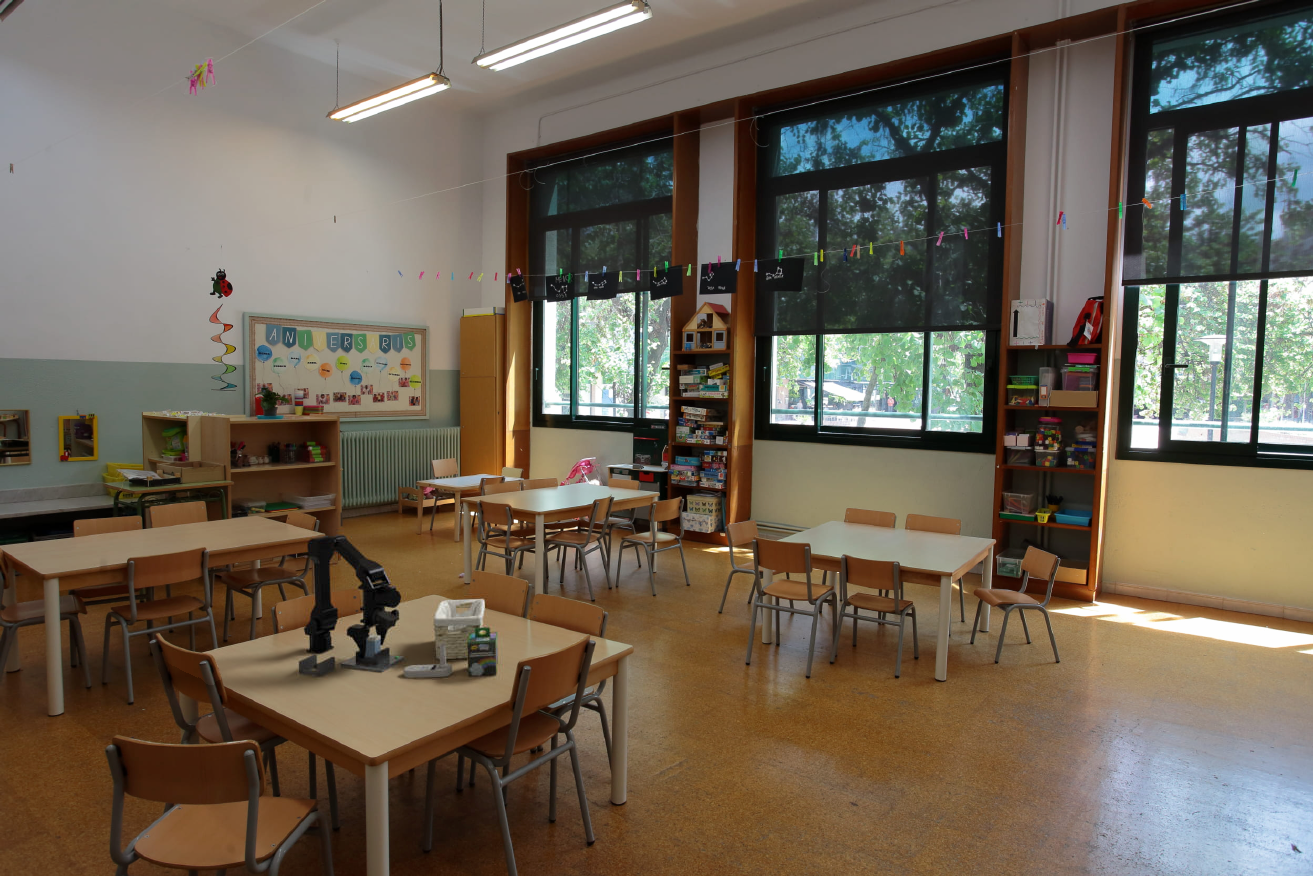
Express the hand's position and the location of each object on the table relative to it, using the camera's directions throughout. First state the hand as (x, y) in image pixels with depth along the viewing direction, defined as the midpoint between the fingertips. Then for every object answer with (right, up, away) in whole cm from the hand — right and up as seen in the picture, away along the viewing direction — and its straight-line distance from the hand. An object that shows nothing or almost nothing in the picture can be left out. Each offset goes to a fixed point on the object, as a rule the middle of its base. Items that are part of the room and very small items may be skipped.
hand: (372, 649), depth 256 cm
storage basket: (+25, -4, +15) cm, 30 cm away
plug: (0, -4, 0) cm, 4 cm away
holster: (-15, -5, -8) cm, 18 cm away
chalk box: (+38, -6, -6) cm, 39 cm away
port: (0, -5, 0) cm, 4 cm away
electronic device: (+21, -6, -9) cm, 24 cm away
